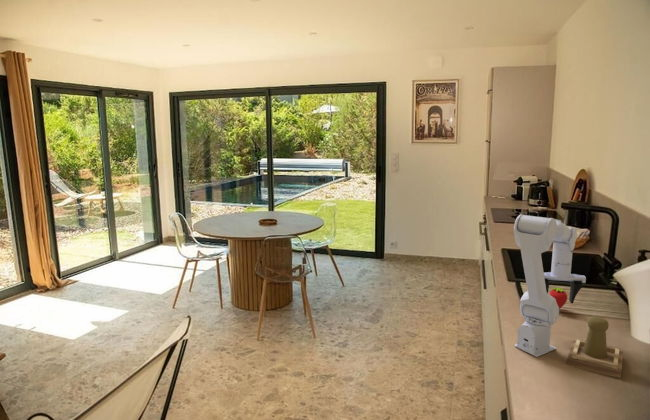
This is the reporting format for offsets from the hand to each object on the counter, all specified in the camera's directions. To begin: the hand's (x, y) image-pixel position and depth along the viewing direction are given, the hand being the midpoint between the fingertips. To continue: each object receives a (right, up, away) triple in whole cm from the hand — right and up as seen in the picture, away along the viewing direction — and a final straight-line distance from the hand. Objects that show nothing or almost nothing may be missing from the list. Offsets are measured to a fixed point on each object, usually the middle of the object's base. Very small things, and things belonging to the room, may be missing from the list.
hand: (558, 301), depth 146 cm
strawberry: (+9, -7, +18) cm, 22 cm away
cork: (+2, -12, -17) cm, 21 cm away
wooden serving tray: (+1, -14, -18) cm, 23 cm away
